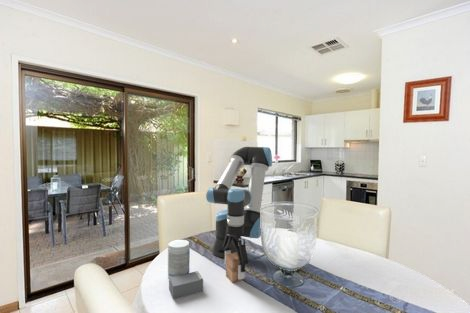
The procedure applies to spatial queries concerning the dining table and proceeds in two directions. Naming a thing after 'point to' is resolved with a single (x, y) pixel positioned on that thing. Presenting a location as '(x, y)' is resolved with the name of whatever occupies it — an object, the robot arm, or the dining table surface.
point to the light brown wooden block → (232, 267)
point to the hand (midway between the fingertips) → (234, 271)
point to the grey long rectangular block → (185, 284)
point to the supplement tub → (178, 257)
